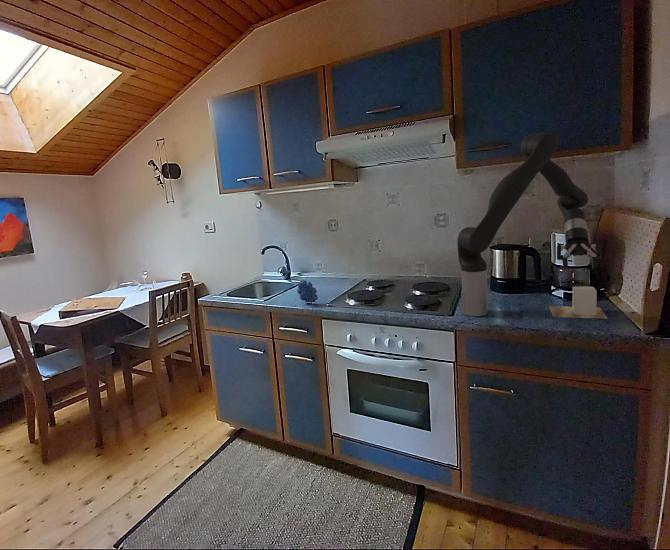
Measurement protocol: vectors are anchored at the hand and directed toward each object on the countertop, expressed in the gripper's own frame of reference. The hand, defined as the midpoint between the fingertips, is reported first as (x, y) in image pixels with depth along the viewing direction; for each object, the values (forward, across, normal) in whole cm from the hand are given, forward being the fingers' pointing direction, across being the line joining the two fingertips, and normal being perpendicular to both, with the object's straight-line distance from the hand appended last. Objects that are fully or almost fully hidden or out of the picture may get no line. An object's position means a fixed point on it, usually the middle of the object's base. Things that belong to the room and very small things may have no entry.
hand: (580, 267), depth 142 cm
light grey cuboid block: (+16, 0, +4) cm, 17 cm away
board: (+17, -2, +4) cm, 18 cm away
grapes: (+15, -113, +7) cm, 114 cm away
